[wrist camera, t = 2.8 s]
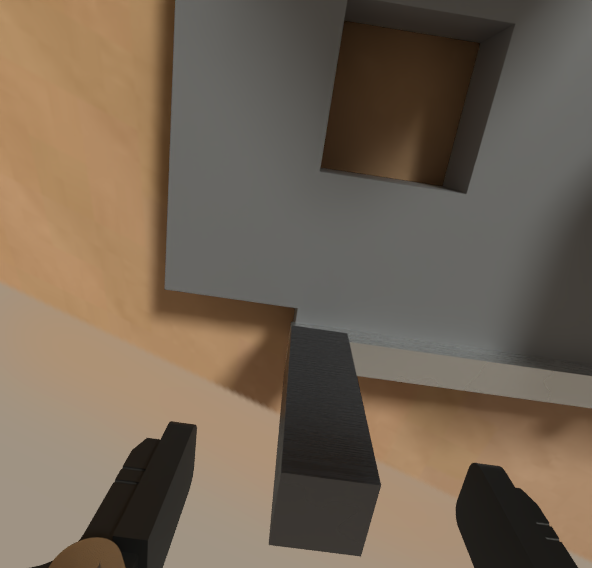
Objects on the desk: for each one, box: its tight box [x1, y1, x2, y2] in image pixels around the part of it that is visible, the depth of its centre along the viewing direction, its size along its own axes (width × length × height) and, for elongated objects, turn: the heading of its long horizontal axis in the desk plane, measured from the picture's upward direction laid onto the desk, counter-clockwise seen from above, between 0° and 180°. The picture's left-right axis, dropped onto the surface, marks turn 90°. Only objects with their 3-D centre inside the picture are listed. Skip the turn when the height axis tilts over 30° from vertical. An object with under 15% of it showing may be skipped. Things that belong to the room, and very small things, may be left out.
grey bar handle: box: [269, 322, 592, 556], centre depth 13 cm, size 19×8×9 cm, turn 82°
